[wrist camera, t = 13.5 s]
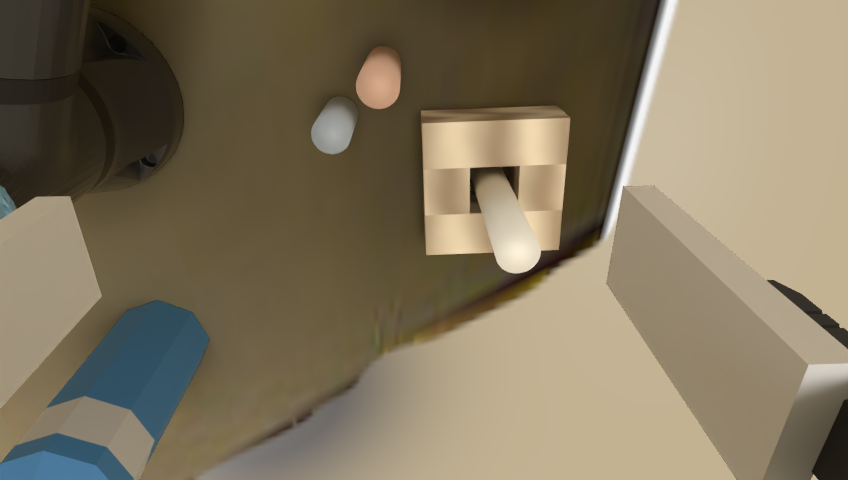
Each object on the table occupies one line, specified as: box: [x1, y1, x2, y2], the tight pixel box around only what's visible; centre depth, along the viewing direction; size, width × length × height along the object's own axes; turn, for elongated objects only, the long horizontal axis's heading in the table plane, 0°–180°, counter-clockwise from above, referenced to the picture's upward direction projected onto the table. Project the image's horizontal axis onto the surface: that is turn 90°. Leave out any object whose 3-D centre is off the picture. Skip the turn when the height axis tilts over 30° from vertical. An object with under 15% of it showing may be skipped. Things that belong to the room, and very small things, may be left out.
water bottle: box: [0, 300, 209, 480], centre depth 46 cm, size 9×9×25 cm
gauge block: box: [421, 106, 570, 255], centre depth 48 cm, size 12×12×4 cm
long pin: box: [471, 167, 541, 273], centre depth 43 cm, size 3×3×16 cm
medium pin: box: [356, 46, 401, 109], centre depth 41 cm, size 3×3×10 cm
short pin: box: [311, 96, 358, 154], centre depth 44 cm, size 3×3×7 cm
